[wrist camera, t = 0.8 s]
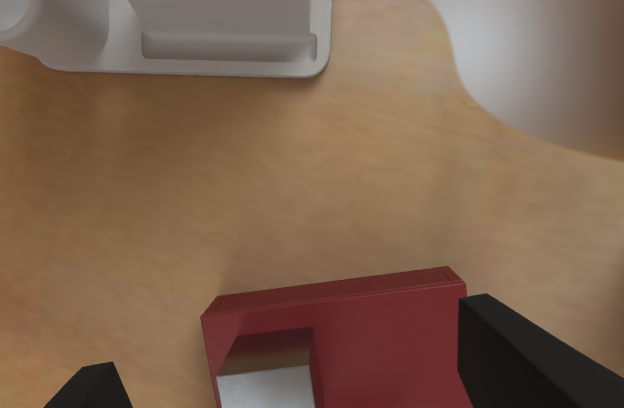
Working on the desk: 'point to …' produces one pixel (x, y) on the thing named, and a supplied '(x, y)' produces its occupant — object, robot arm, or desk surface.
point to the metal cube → (272, 371)
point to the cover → (365, 344)
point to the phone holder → (172, 36)
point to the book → (333, 289)
